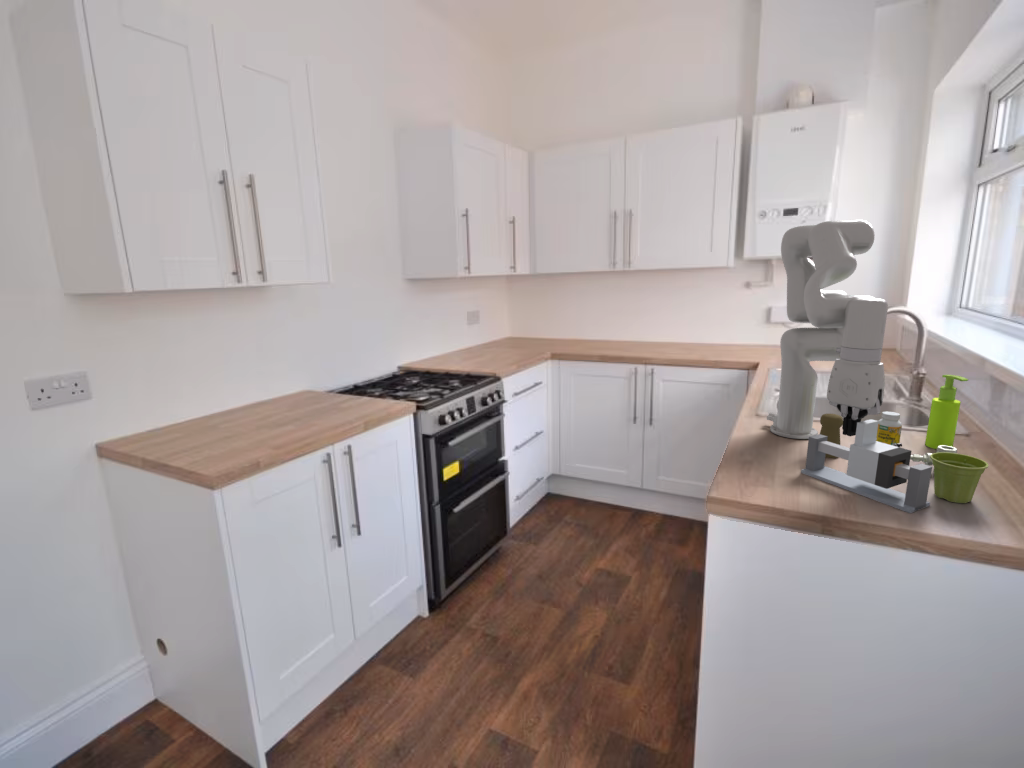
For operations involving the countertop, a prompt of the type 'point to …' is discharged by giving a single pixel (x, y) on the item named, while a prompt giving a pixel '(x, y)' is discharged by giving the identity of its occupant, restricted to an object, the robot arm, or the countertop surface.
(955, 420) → the soap dispenser
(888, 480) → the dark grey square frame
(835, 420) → the cork
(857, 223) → the robot arm
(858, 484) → the rail stand
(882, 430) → the supplement bottle
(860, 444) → the sleeve
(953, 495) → the plant pot
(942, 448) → the valve
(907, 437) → the countertop surface
